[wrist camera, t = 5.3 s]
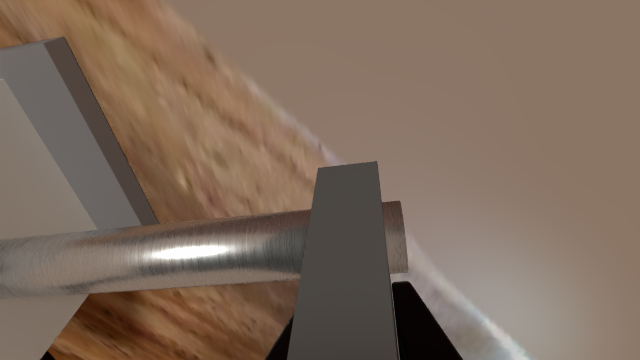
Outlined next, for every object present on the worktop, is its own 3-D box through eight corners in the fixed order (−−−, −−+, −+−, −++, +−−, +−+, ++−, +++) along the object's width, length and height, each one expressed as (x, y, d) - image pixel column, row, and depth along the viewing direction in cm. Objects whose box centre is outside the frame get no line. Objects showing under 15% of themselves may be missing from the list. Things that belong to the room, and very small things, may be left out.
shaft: (-53, 303, 16) (-297, 520, 10) (-151, 207, 13) (-563, 424, 7) (404, 272, 13) (447, 559, 7) (393, 140, 10) (448, 419, 4)
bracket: (89, 260, 22) (-58, 437, 14) (-48, 57, 16) (-438, 171, 8) (173, 253, 22) (67, 437, 14) (63, 36, 15) (-252, 140, 7)
